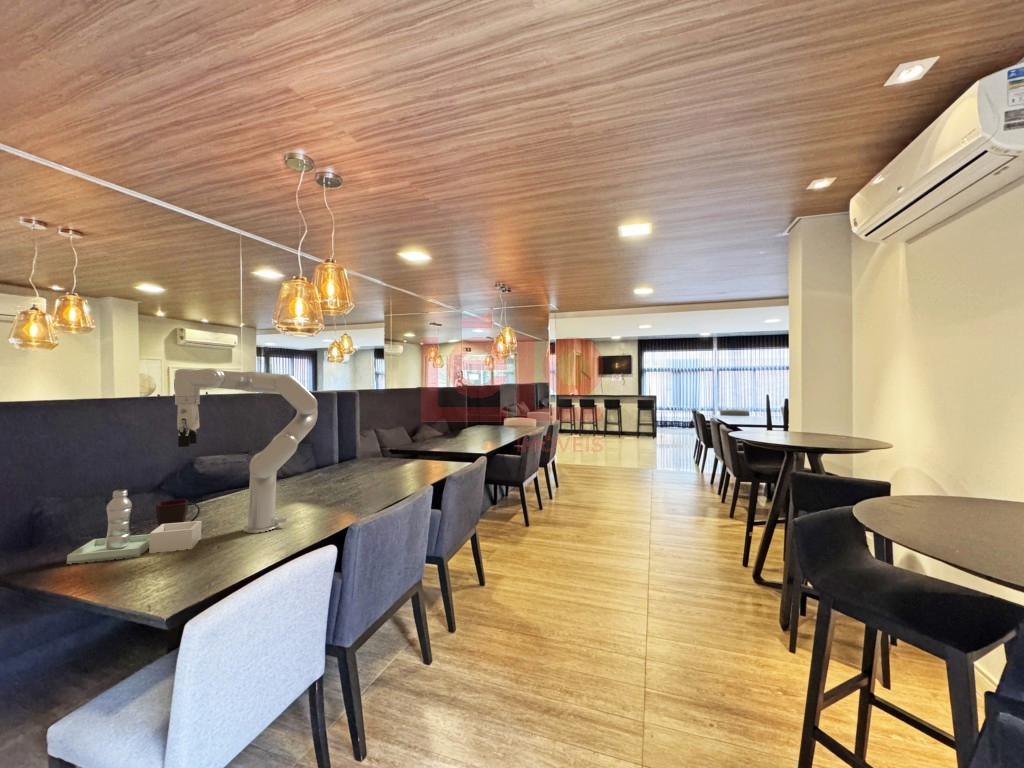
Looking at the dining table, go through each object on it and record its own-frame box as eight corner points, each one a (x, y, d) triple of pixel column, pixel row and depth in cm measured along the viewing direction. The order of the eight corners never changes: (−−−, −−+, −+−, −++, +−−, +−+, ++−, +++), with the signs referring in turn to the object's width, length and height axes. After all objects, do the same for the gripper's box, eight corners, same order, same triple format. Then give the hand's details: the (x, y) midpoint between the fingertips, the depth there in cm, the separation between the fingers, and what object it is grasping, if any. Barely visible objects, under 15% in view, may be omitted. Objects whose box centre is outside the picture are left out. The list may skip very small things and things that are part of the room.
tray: (157, 541, 153) (157, 533, 153) (138, 557, 139) (139, 548, 139) (93, 547, 146) (93, 539, 146) (66, 564, 131) (67, 555, 132)
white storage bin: (200, 539, 157) (201, 520, 157) (191, 549, 146) (192, 529, 147) (161, 543, 152) (162, 524, 152) (149, 553, 142) (150, 533, 142)
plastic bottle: (135, 545, 147) (138, 488, 147) (116, 552, 140) (119, 493, 141) (118, 544, 147) (121, 488, 148) (98, 551, 140) (101, 492, 141)
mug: (154, 531, 164) (156, 501, 164) (198, 525, 173) (199, 496, 173) (154, 538, 156) (155, 507, 157) (199, 531, 165) (201, 501, 166)
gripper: (193, 400, 152) (193, 447, 152) (205, 400, 168) (205, 442, 168) (167, 401, 149) (167, 448, 149) (182, 400, 165) (182, 443, 165)
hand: (187, 445), depth 158 cm, fingers open, 9 cm apart
